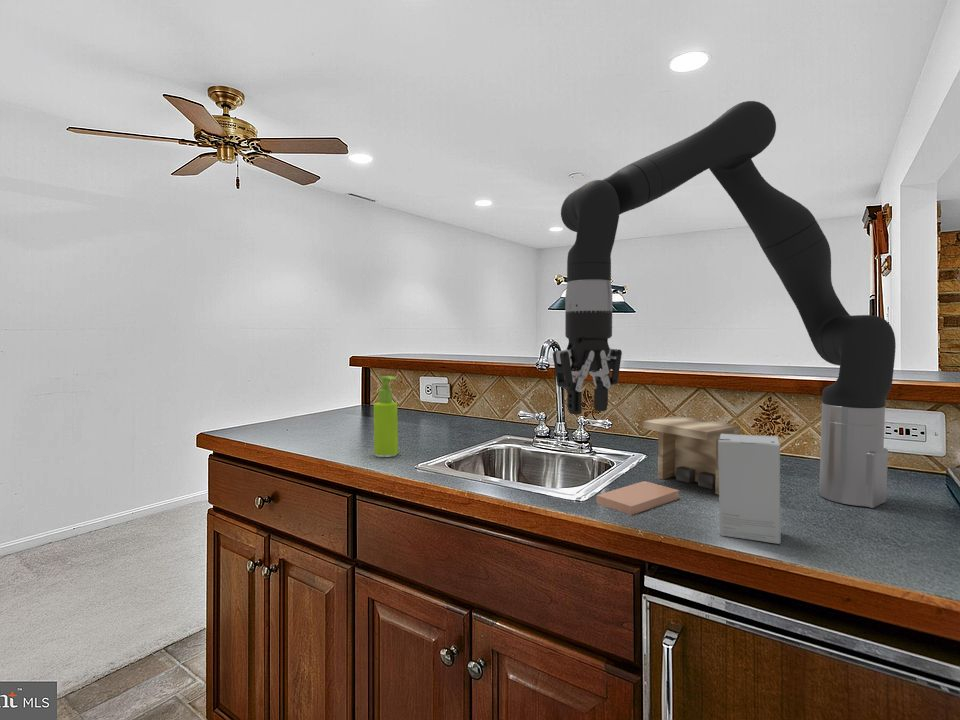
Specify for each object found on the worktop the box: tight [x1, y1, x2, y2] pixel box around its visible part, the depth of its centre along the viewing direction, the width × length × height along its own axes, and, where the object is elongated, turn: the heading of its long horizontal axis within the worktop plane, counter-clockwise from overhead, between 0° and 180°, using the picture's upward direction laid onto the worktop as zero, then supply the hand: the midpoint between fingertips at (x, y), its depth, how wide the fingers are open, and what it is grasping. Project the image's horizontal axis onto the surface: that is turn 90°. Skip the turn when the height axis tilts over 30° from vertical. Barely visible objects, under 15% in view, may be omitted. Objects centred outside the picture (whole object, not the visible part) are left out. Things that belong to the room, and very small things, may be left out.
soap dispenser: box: [373, 375, 399, 455], centre depth 128 cm, size 6×7×20 cm
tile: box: [596, 480, 680, 516], centre depth 93 cm, size 8×14×2 cm, turn 127°
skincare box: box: [718, 434, 782, 545], centre depth 77 cm, size 8×6×15 cm
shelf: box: [642, 415, 741, 496], centre depth 101 cm, size 14×11×12 cm
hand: (588, 411), depth 85 cm, fingers open, 5 cm apart
